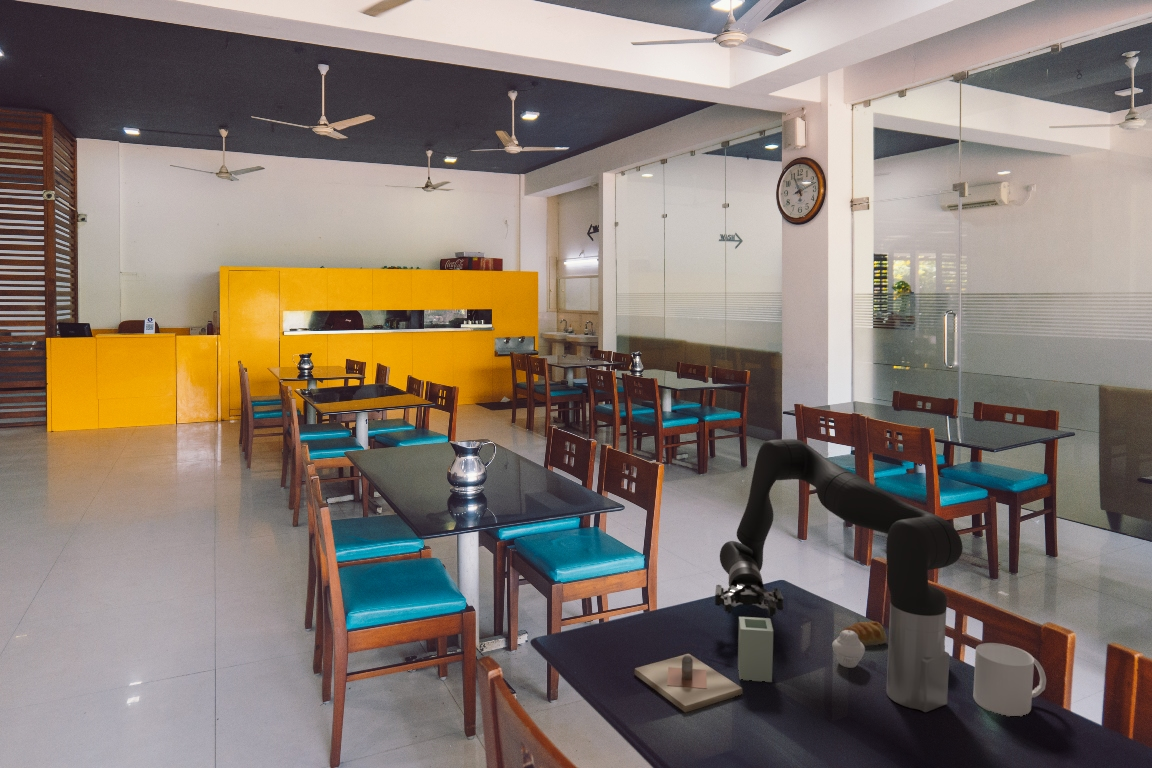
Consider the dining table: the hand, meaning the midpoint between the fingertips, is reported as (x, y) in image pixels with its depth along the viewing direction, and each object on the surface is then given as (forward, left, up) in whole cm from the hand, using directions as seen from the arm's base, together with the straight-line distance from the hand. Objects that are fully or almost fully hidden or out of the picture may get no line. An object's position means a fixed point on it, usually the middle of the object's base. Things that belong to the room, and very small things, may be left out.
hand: (750, 610), depth 158 cm
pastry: (-9, -24, -8) cm, 27 cm away
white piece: (-15, -12, -8) cm, 21 cm away
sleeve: (-9, +7, -8) cm, 14 cm away
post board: (-6, +21, -8) cm, 23 cm away
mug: (-40, -25, -8) cm, 48 cm away
